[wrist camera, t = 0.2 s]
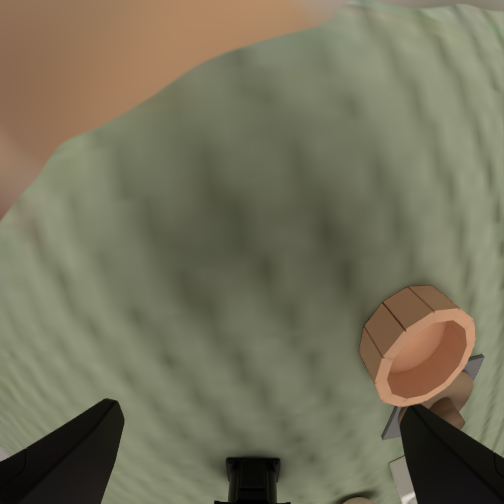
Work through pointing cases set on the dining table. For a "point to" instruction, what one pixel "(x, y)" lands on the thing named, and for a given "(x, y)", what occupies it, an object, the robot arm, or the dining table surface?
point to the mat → (393, 425)
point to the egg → (358, 501)
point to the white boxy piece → (403, 481)
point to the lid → (449, 400)
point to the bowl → (416, 345)
